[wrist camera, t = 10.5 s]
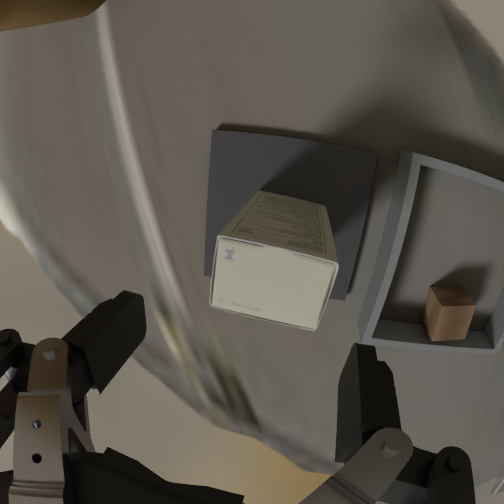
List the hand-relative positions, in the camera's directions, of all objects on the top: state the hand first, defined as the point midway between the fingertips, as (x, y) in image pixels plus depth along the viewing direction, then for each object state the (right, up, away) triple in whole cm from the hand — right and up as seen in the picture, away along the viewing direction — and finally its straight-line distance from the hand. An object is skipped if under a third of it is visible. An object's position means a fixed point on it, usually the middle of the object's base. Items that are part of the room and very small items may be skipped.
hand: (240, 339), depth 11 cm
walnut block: (+20, -2, +16) cm, 26 cm away
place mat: (+3, +6, +16) cm, 18 cm away
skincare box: (+4, +6, +16) cm, 17 cm away
